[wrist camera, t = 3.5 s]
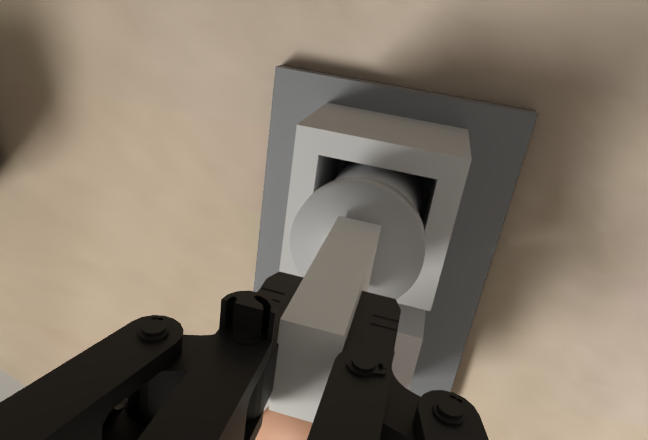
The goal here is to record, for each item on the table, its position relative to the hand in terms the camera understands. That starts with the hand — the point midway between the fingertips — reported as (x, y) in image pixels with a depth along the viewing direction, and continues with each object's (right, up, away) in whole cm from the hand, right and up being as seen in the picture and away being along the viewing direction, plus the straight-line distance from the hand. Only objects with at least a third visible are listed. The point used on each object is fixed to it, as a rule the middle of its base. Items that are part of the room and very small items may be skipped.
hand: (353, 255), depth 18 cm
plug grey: (+1, +3, +6) cm, 7 cm away
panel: (+2, 0, +10) cm, 10 cm away
